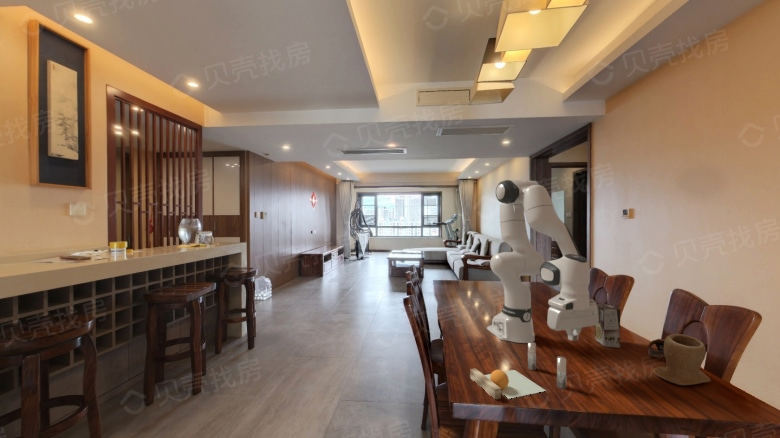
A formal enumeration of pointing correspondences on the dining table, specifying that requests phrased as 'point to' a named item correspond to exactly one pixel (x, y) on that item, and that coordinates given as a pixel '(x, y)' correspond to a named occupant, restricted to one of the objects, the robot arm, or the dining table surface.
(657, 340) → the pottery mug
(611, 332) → the coffee box
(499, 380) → the ball
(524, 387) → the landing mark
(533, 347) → the post
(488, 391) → the wall
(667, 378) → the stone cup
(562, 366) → the post
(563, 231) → the robot arm
